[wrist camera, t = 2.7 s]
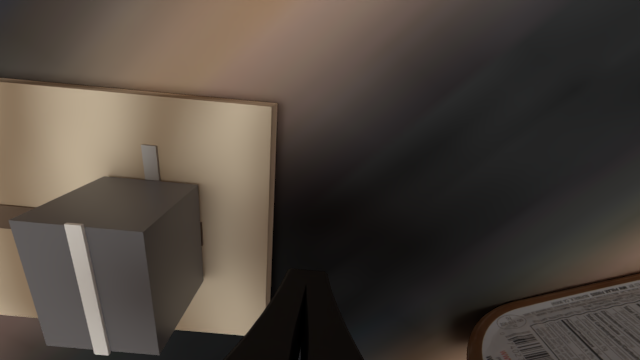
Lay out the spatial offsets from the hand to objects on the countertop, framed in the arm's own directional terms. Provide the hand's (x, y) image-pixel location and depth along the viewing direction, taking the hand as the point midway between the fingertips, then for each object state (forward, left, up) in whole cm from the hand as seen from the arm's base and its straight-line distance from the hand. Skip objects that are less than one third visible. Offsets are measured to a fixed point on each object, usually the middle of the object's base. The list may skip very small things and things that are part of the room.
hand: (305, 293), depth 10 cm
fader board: (+13, 0, -5) cm, 14 cm away
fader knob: (+7, 0, -3) cm, 8 cm away
